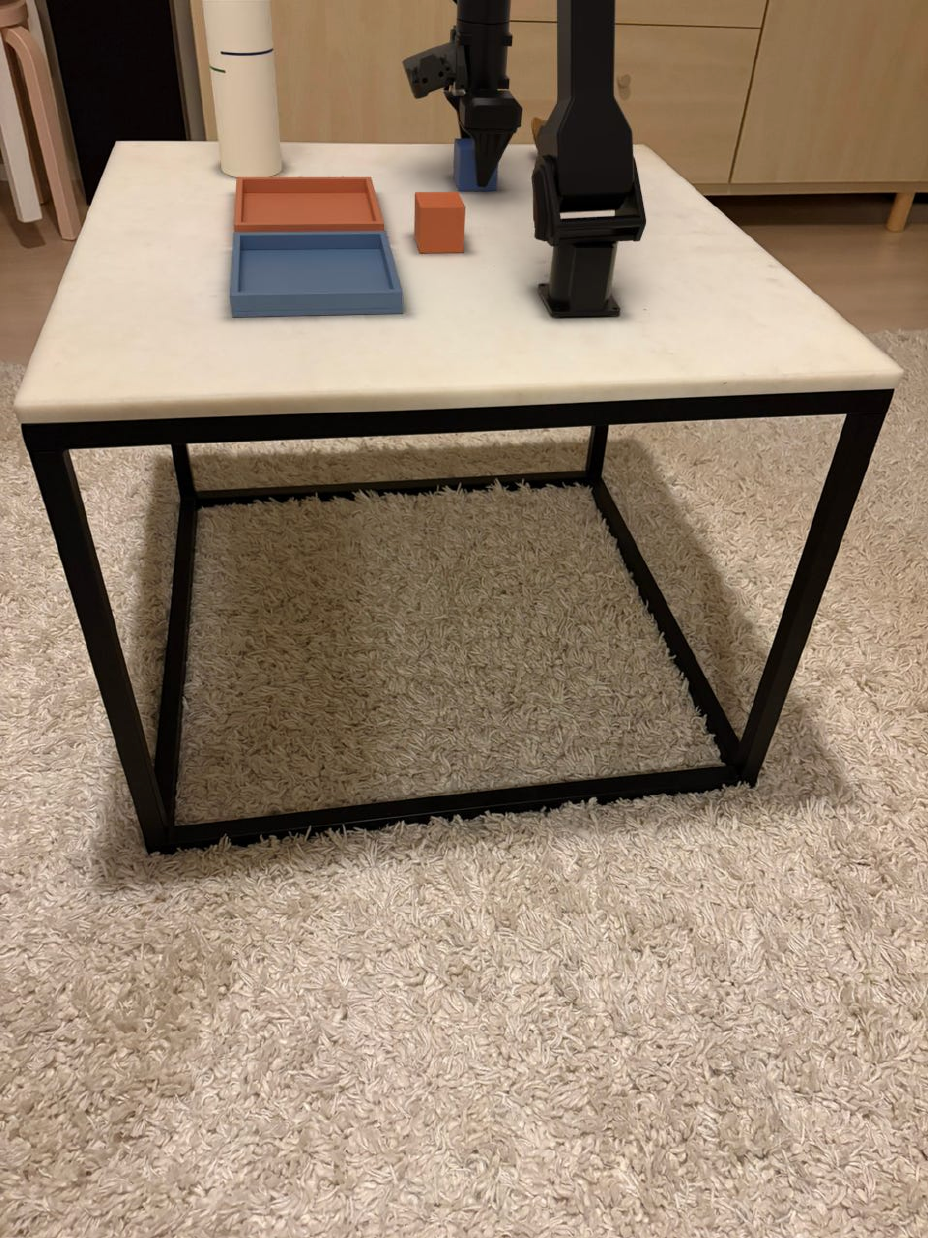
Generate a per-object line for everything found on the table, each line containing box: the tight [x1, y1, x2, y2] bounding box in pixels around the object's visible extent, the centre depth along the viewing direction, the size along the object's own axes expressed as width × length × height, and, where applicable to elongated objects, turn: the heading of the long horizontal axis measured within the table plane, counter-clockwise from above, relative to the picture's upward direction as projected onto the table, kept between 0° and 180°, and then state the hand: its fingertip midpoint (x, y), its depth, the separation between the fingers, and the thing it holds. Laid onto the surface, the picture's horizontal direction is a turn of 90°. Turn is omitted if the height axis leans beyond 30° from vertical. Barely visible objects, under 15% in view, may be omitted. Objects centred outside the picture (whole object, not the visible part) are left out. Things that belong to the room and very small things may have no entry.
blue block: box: [452, 137, 499, 192], centre depth 110 cm, size 4×4×4 cm
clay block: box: [413, 191, 466, 254], centre depth 95 cm, size 4×4×4 cm
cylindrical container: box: [201, 0, 283, 178], centre depth 104 cm, size 7×7×25 cm
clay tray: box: [233, 176, 385, 233], centre depth 100 cm, size 15×15×2 cm
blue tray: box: [229, 230, 404, 318], centre depth 88 cm, size 15×15×2 cm
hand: (475, 173), depth 111 cm, fingers open, 9 cm apart
